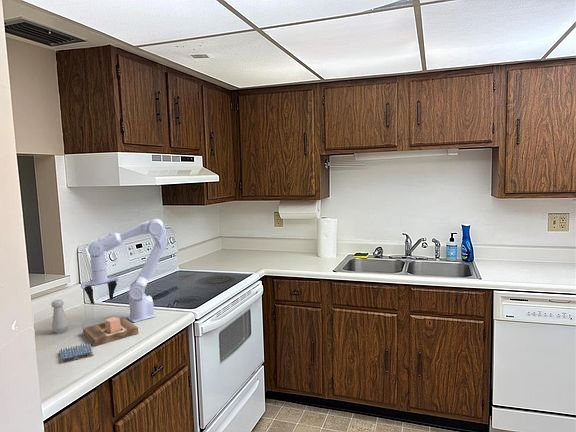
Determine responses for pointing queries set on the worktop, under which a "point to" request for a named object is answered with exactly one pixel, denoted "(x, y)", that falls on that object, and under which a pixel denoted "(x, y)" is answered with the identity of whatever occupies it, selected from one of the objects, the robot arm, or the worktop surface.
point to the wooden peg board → (101, 337)
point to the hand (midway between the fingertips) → (101, 301)
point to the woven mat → (76, 353)
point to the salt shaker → (59, 317)
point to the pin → (112, 325)
